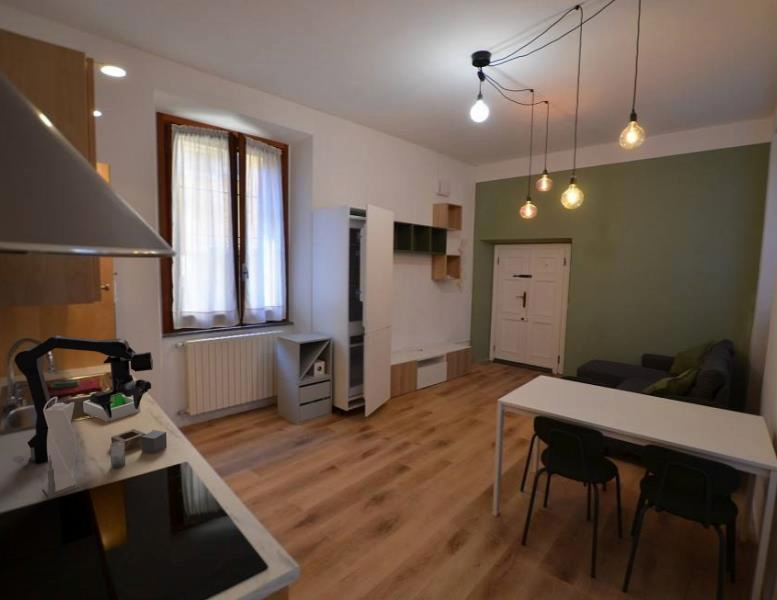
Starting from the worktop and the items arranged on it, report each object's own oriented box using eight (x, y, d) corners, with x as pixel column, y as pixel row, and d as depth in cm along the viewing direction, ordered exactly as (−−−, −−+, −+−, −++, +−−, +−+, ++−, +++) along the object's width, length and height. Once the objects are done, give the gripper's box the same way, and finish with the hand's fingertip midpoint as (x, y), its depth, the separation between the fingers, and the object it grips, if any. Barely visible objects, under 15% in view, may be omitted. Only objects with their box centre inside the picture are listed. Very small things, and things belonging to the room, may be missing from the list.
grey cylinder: (115, 470, 130) (114, 447, 129) (108, 467, 131) (107, 444, 131) (127, 465, 133) (127, 442, 132) (121, 461, 135) (120, 440, 134)
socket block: (123, 452, 141) (123, 442, 141) (111, 447, 145) (111, 436, 144) (146, 443, 148) (145, 433, 148) (133, 438, 152) (133, 428, 152)
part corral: (107, 421, 166) (106, 410, 166) (83, 412, 175) (82, 401, 175) (140, 411, 178) (140, 400, 178) (116, 402, 188) (116, 392, 187)
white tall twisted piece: (42, 487, 119) (36, 399, 116) (74, 476, 126) (69, 392, 123) (49, 498, 114) (43, 406, 111) (83, 485, 121) (78, 399, 118)
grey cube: (154, 454, 141) (154, 438, 140) (141, 452, 142) (141, 436, 141) (166, 447, 146) (166, 432, 146) (154, 445, 148) (153, 430, 147)
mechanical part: (104, 409, 180) (103, 392, 179) (120, 406, 184) (119, 389, 183) (110, 417, 171) (109, 399, 171) (126, 413, 176) (125, 396, 175)
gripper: (104, 383, 131) (108, 427, 133) (158, 369, 148) (161, 408, 149) (87, 378, 136) (91, 421, 138) (141, 365, 153) (144, 403, 154)
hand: (123, 413), depth 145 cm, fingers open, 9 cm apart
